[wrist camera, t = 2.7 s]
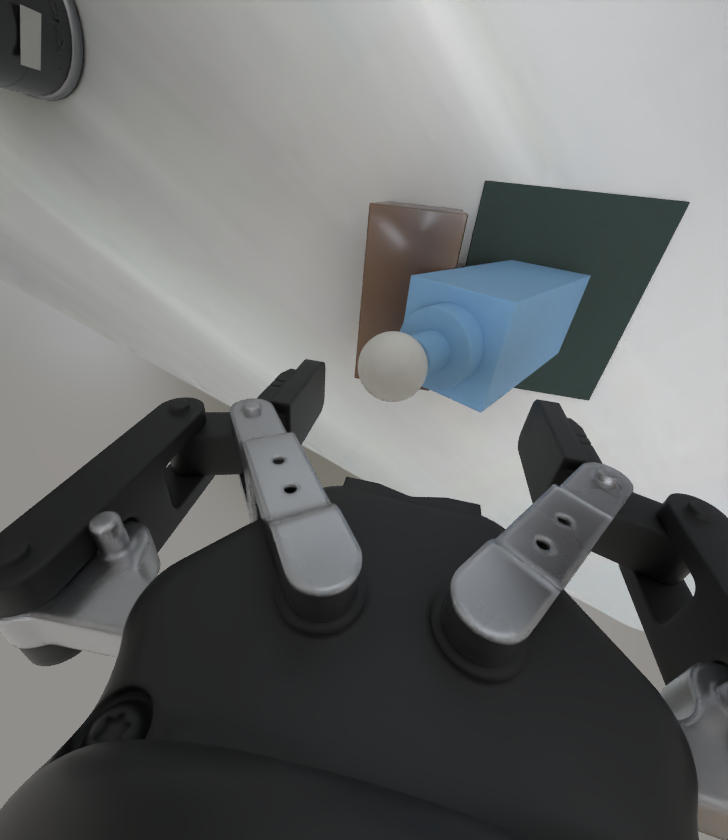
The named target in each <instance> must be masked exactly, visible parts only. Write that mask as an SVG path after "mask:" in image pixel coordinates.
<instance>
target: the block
mask: <svg viewBox="0 0 728 840" xmlns="http://www.w3.org/2000/svg"><path fill="white" fill-rule="evenodd" d="M467 217H468V214H466V213H465V212H464V211H463V210H459V209H450V208H441V207H433V206H424V205H415V204H407V203H398V202H389V201H388V202H375V203H370V206H369V217H368V229H367V240H366V252H365V263H364V275H363V286H362V298H361V309H360V321H359V332H358V344H357V355H356V367H355V378H359V374H358V360H359V356H360V353H361V351H362V349H363V348H364V346H365V345H366V344H367V342H368V341H369V340H371V339H372V338H373V337H375V336H376V335H378V334H381V333H384V332H388V331H398V332H400V329H401V327H402V325H403V323H404V318H405V311H406V305H407V298H408V292H409V286H410V279H411V275H416V274H423V273H429V272H436V271H442V270H449V269H455V268H456V267H457V263H458V258H459V254H460V249H461V245H462V240H463V235H464V231H465V226H466V222H467ZM359 379H360V378H359ZM420 389H422V390H428V391H429V390H430V389H427V388H424V387H422V386H421V388H420Z"/></svg>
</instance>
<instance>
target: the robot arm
mask: <svg viewBox="0 0 728 840" xmlns="http://www.w3.org/2000/svg"><path fill="white" fill-rule="evenodd" d="M82 63H83V41H82V33H81V27H80V23H79V19H78V15H77V11H76V8H75V5H74V2H73V0H0V87H1V88H5V89H9V90H13V91H17V92H21V93H24V94H26V95H28V96H32V97H35V98H39V99H44V100H58V99H61V98H64V97H65V96H67V95H68V94H69V93H70V92H71V91H72V90H73V89H74V87H75V86H76V84H77V82H78V80H79V77H80V74H81V69H82ZM324 394H325V363H324V362H319V361H314V360H308V359H305V360H304V361H303V362H302V364H301V365H300V366H299V367H298V368H297V369H296V370H295V369H289V370H287V371H285V372H283V373H281V374H280V375H279V376H278V377H277V378H276V379H275V381H273V382H272V383H271V384H270V386H268V387H267V388H266V389H265V390H264V391H263V392H262V394H261V395H260V396H259V397H258V398H257V399H245V400H241V401H239V402H237V403H235V404H233V405H232V406H231V408H230V412H226V413H225V412H223V413H222V412H221V413H220V412H217V413H216V412H212V413H211V412H209V413H208V412H205V408H204V404H203V402H201V401H200V400H198V399H195V398H176V399H172V400H169V401H166V402H164V403H162V404H161V405H159V406H158V407H157V408H156V409H154V410H153V411H152V412H151V413H149V414H148V415H147V416H146V417H144V418H143V419H142V420H141V421H139V422H138V423H137V424H136V425H134V426H133V427H132V428H131V429H129V430H128V431H127V432H126V433H124V434H123V435H122V436H121V437H119V438H118V439H117V440H116V441H114V442H113V443H112V444H111V445H109V446H108V447H107V448H106V449H104V450H103V451H102V452H101V453H99V454H98V455H97V456H96V457H94V458H93V459H92V460H91V461H89V462H88V463H87V464H86V465H85V466H83V467H82V468H81V469H79V470H78V471H77V472H76V473H74V474H73V475H72V476H71V477H69V478H68V479H67V480H66V481H64V482H63V483H62V484H60V485H59V486H58V487H57V488H56V489H54V490H53V491H52V492H50V493H49V494H48V495H47V496H45V497H44V498H43V499H42V500H41V501H39V502H38V503H37V504H36V505H34V506H33V507H32V508H30V509H29V510H28V511H27V512H25V513H24V514H23V515H22V516H20V517H19V518H18V519H17V520H16V521H14V522H13V523H12V524H10V525H9V526H8V527H7V528H5V529H4V530H3V531H2V532H1V533H0V632H1V634H2V635H3V636H4V637H5V638H6V639H7V640H8V641H9V642H10V643H11V644H12V645H13V646H15V647H18V648H19V649H20V650H21V651H22V652H23V653H24V654H25V656H27V658H28V659H29V660H30V661H31V662H32V663H34V664H36V665H40V666H51V665H55V664H59V663H62V662H64V661H67V660H68V659H71V658H72V657H74V656H76V655H77V654H78V653H80V652H81V651H82V650H83V651H88V652H92V653H97V654H102V655H106V656H111V657H116V658H117V660H116V663H115V666H114V669H113V671H112V674H111V677H110V679H109V681H108V683H107V686H106V688H105V690H104V692H103V694H102V696H101V698H100V700H99V702H98V703H97V705H96V707H95V708H94V710H93V711H92V713H91V714H90V715H89V717H88V718H87V720H86V721H85V722H84V723H83V724H82V725H81V727H80V728H79V729H78V730H77V731H76V732H75V733H74V734H73V736H72V737H71V738H70V739H69V740H68V741H67V742H66V743H65V744H64V745H63V746H62V747H61V749H59V750H58V751H57V753H56V754H55V755H53V756H52V757H51V759H49V760H48V761H47V762H46V763H45V764H44V765H43V766H42V767H41V768H40V769H39V770H38V771H36V772H35V773H34V774H33V775H32V776H31V777H30V778H29V779H28V780H27V781H26V782H25V783H24V784H23V785H22V786H21V787H20V788H19V789H18V790H17V791H16V792H15V793H14V794H13V795H12V796H11V797H10V798H9V800H8V801H7V802H6V804H5V805H4V806H3V807H2V808H1V810H0V840H699V838H698V831H700V832H702V833H705V834H708V835H711V836H713V837H716V838H719V839H721V840H728V518H727V517H726V516H725V515H724V514H723V513H722V512H721V511H719V510H718V509H717V508H715V507H714V506H712V505H710V504H709V503H707V502H705V501H703V500H701V499H698V498H696V497H693V496H690V495H686V494H679V493H676V494H671V495H670V496H669V497H668V498H667V499H666V500H665V502H664V503H663V504H662V503H659V502H657V501H654V500H651V499H649V498H646V497H643V496H641V495H638V494H636V493H634V492H633V484H632V483H631V481H630V480H629V479H628V478H627V477H626V476H625V475H624V474H622V473H621V472H619V471H618V470H616V469H614V468H612V467H610V466H607V465H604V464H602V462H601V460H600V458H599V457H598V455H597V453H596V452H595V450H594V448H593V446H591V443H590V441H589V439H588V438H587V436H586V434H585V432H584V431H583V429H582V427H580V426H579V425H578V424H577V423H576V422H574V421H573V420H572V419H570V418H567V417H566V415H565V413H564V412H563V410H562V408H561V406H560V404H559V403H555V402H549V401H543V400H535V401H534V403H533V405H532V407H531V409H530V412H529V414H528V416H527V419H526V421H525V424H524V426H523V429H522V431H521V434H520V437H519V441H518V451H519V455H520V458H521V462H522V466H523V469H524V473H525V477H526V480H527V484H528V488H529V491H530V495H531V499H532V502H533V504H532V505H531V506H530V507H529V508H528V509H527V510H526V511H525V512H524V513H523V514H522V515H520V516H519V517H518V518H517V519H516V520H515V521H514V522H513V523H512V524H511V525H510V526H509V527H508V528H507V529H504V528H503V527H502V526H500V525H498V524H497V523H495V522H494V521H492V520H490V519H488V518H486V517H484V516H481V508H480V505H478V504H474V503H469V502H464V501H459V500H455V499H450V498H437V497H411V496H408V495H405V494H403V493H400V492H398V491H395V490H393V489H391V488H388V487H386V486H383V485H381V484H378V483H374V482H369V481H364V480H360V479H355V478H350V477H346V480H345V482H344V485H343V486H330V487H325V488H323V487H322V486H321V483H320V481H319V479H318V477H317V475H316V473H315V472H314V470H313V468H312V466H311V464H310V462H309V460H308V458H307V456H306V454H305V452H304V450H303V449H302V446H301V445H302V443H303V441H304V440H305V438H306V436H307V435H308V433H309V431H310V430H311V428H312V426H313V424H314V423H315V421H316V419H317V418H318V416H319V414H320V413H321V411H322V408H323V404H324ZM169 462H171V464H170V465H169V466H168V467H167V468H166V466H167V464H168V463H169ZM226 474H238V475H239V480H240V484H241V488H242V492H243V495H244V499H245V503H246V507H247V510H248V515H249V519H250V524H248V525H246V526H244V527H242V528H241V529H239V530H237V531H235V532H233V533H231V534H229V535H227V536H225V537H224V538H222V539H220V540H218V541H216V542H214V543H212V544H210V545H209V546H206V547H204V548H203V549H201V550H199V551H197V552H195V553H193V554H191V555H189V556H188V557H185V558H184V559H182V560H180V561H178V562H176V563H175V564H173V565H171V566H170V567H168V568H167V569H166V570H164V571H163V572H162V573H160V574H159V575H158V573H159V570H160V559H159V556H158V552H159V550H160V549H161V548H162V546H163V545H164V543H165V542H166V541H167V540H168V538H169V537H170V536H171V534H172V533H173V532H174V530H175V529H176V527H177V526H178V525H179V523H180V522H181V521H182V519H183V518H184V517H185V515H186V514H187V513H188V511H189V510H190V508H191V507H192V506H193V505H194V503H195V502H196V500H197V499H198V498H199V496H200V495H201V494H202V492H203V491H204V490H205V488H206V487H207V485H208V484H209V483H210V482H211V480H212V479H213V478H214V476H215V475H226ZM591 551H592V552H594V553H596V554H598V555H601V556H603V557H605V558H607V559H610V560H612V561H614V562H616V563H618V564H619V567H620V570H621V573H622V575H623V578H624V580H625V583H626V585H627V588H628V590H629V593H630V596H631V598H632V601H633V603H634V606H635V608H636V611H637V613H638V616H639V619H640V621H641V624H642V626H643V629H644V631H645V634H646V636H647V639H648V641H649V644H650V647H651V649H652V652H653V654H654V657H655V659H656V662H657V664H658V667H659V669H660V672H661V674H662V677H663V680H664V682H665V685H666V686H665V687H664V688H663V690H662V692H661V694H660V693H659V692H658V690H657V689H656V688H655V687H654V686H653V685H652V684H651V683H650V681H649V680H648V679H647V678H646V677H645V676H644V675H643V674H642V673H641V672H640V671H639V669H637V667H636V666H635V665H634V664H633V663H632V662H631V661H630V660H629V659H628V658H627V657H626V656H625V655H624V653H623V652H622V651H621V650H620V649H619V648H618V647H617V646H616V645H615V644H614V643H613V642H612V641H611V640H610V639H609V637H608V636H607V635H606V634H605V633H604V632H603V631H602V630H601V629H600V628H599V627H598V626H597V625H596V624H595V622H594V621H593V620H592V619H591V618H590V617H589V616H588V615H587V614H586V613H585V612H584V611H583V610H582V609H581V608H580V606H579V605H578V604H577V603H576V602H575V601H574V600H573V599H572V598H571V597H570V596H569V595H568V594H567V593H566V591H565V590H564V588H565V587H566V585H567V584H568V583H569V581H570V580H571V578H572V577H573V576H574V574H575V573H576V571H577V570H578V569H579V567H580V566H581V564H582V563H583V562H584V560H585V559H586V557H587V556H588V554H589V553H590V552H591ZM689 573H691V574H692V576H693V578H694V581H695V586H696V589H695V594H694V597H693V596H692V594H691V592H690V590H689V588H688V587H687V585H686V583H685V581H684V578H685V577H686V576H687V575H688V574H689ZM157 575H158V576H157Z"/></svg>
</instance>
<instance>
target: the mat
mask: <svg viewBox="0 0 728 840" xmlns="http://www.w3.org/2000/svg"><path fill="white" fill-rule="evenodd" d="M689 203H690V202H684V201H674V200H665V199H655V198H646V197H636V196H627V195H617V194H608V193H598V192H589V191H579V190H570V189H560V188H551V187H541V186H532V185H522V184H513V183H503V182H494V181H485V184H484V189H483V193H482V197H481V202H480V206H479V210H478V214H477V219H476V223H475V227H474V232H473V236H472V240H471V244H470V249H469V253H468V257H467V262H466V266H465V267H468V266H475V265H481V264H488V263H494V262H501V261H507V260H515V261H520V262H525V263H530V264H535V265H540V266H545V267H550V268H555V269H560V270H565V271H571V272H576V273H581V274H586V275H590V276H591V277H590V279H589V281H588V284H587V286H586V288H585V291H584V293H583V296H582V298H581V300H580V303H579V305H578V307H577V310H576V312H575V315H574V317H573V319H572V322H571V324H570V326H569V329H568V331H567V334H566V336H565V338H564V341H563V343H562V346H561V348H560V350H559V353H558V354H557V355H555V356H554V357H553V358H551V359H550V360H549V361H547V362H546V363H545V364H544V365H542V366H541V367H540V368H538V369H537V370H536V371H534V372H533V373H532V374H531V375H529V376H528V377H527V378H525V379H524V380H523V381H521V382H520V383H519V384H517V385H516V386H515V387H514V388H518V389H524V390H530V391H536V392H542V393H548V394H554V395H560V396H566V397H572V398H578V399H583V400H589V399H590V397H591V395H592V393H593V391H594V389H595V387H596V385H597V383H598V381H599V379H600V377H601V375H602V373H603V371H604V369H605V368H606V366H607V364H608V362H609V360H610V358H611V356H612V354H613V352H614V350H615V348H616V346H617V344H618V342H619V340H620V338H621V336H622V334H623V332H624V330H625V328H626V326H627V324H628V322H629V321H630V319H631V317H632V315H633V313H634V311H635V309H636V307H637V305H638V303H639V301H640V299H641V297H642V295H643V293H644V291H645V289H646V287H647V285H648V283H649V281H650V279H651V277H652V275H653V274H654V272H655V270H656V268H657V266H658V264H659V262H660V260H661V258H662V256H663V254H664V252H665V250H666V248H667V246H668V244H669V242H670V240H671V238H672V236H673V234H674V232H675V230H676V228H677V227H678V225H679V223H680V221H681V219H682V217H683V215H684V213H685V211H686V209H687V207H688V205H689Z"/></svg>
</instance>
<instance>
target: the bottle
mask: <svg viewBox="0 0 728 840" xmlns="http://www.w3.org/2000/svg"><path fill="white" fill-rule="evenodd" d="M590 277H591V276H590V275H586V274H581V273H576V272H571V271H565V270H560V269H555V268H550V267H545V266H540V265H535V264H530V263H525V262H520V261H515V260H507V261H501V262H494V263H488V264H481V265H475V266H468V267H462V268H455V269H449V270H442V271H436V272H429V273H423V274H416V275H411V279H410V286H409V292H408V298H407V305H406V311H405V318H404V323H403V325H402V327H401V329H400V332H398V331H388V332H384V333H381V334H378V335H376V336H375V337H373V338H372V339H371V340H369V341H368V342H367V344H366V345H365V346H364V348H363V349H362V351H361V353H360V356H359V360H358V374H359V378H360V380H361V383H362V384H363V386H364V387H365V389H366V390H367V391H368V392H369V393H370V394H371V395H373V396H374V397H376V398H378V399H380V400H383V401H388V402H396V401H401V400H405V399H407V398H409V397H411V396H412V395H414V394H415V393H416V392H417V391H418V390H419V389H420V388H421V386H422V387H424V388H427V389H430V390H432V391H434V392H437V393H439V394H441V395H443V396H445V397H448V398H450V399H452V400H454V401H457V402H459V403H461V404H463V405H465V406H468V407H470V408H472V409H474V410H476V411H479V412H482V411H484V410H485V409H486V408H488V407H489V406H490V405H491V404H493V403H494V402H495V401H497V400H498V399H499V398H501V397H502V396H503V395H504V394H506V393H507V392H508V391H510V390H511V389H512V388H514V387H515V386H516V385H517V384H519V383H520V382H521V381H523V380H524V379H525V378H527V377H528V376H529V375H531V374H532V373H533V372H534V371H536V370H537V369H538V368H540V367H541V366H542V365H544V364H545V363H546V362H547V361H549V360H550V359H551V358H553V357H554V356H555V355H557V354H558V353H559V350H560V348H561V346H562V343H563V341H564V338H565V336H566V334H567V331H568V329H569V326H570V324H571V322H572V319H573V317H574V315H575V312H576V310H577V307H578V305H579V303H580V300H581V298H582V296H583V293H584V291H585V288H586V286H587V284H588V281H589V279H590Z"/></svg>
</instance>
